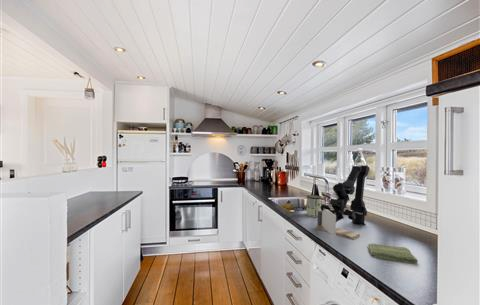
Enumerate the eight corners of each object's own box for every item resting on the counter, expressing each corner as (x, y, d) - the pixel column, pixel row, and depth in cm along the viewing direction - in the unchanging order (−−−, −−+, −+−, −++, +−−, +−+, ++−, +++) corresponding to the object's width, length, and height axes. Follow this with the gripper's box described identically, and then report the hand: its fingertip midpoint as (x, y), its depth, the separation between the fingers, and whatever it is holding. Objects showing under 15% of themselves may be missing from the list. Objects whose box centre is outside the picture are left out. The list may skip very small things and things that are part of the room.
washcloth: (366, 246, 112) (366, 240, 112) (408, 253, 106) (408, 247, 106) (371, 258, 100) (371, 251, 100) (419, 266, 94) (419, 259, 94)
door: (336, 236, 119) (336, 215, 119) (333, 236, 119) (334, 215, 119) (323, 224, 139) (323, 206, 139) (320, 224, 139) (321, 206, 139)
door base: (359, 236, 126) (360, 218, 126) (353, 239, 120) (354, 221, 120) (321, 225, 143) (322, 209, 143) (314, 227, 138) (315, 211, 138)
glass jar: (308, 212, 174) (308, 194, 174) (322, 214, 169) (322, 196, 169) (304, 215, 165) (305, 196, 165) (318, 217, 160) (319, 198, 160)
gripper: (322, 191, 136) (312, 212, 129) (354, 196, 122) (344, 220, 115) (328, 202, 142) (318, 222, 135) (359, 208, 128) (350, 231, 120)
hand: (332, 224), depth 126 cm, fingers closed
